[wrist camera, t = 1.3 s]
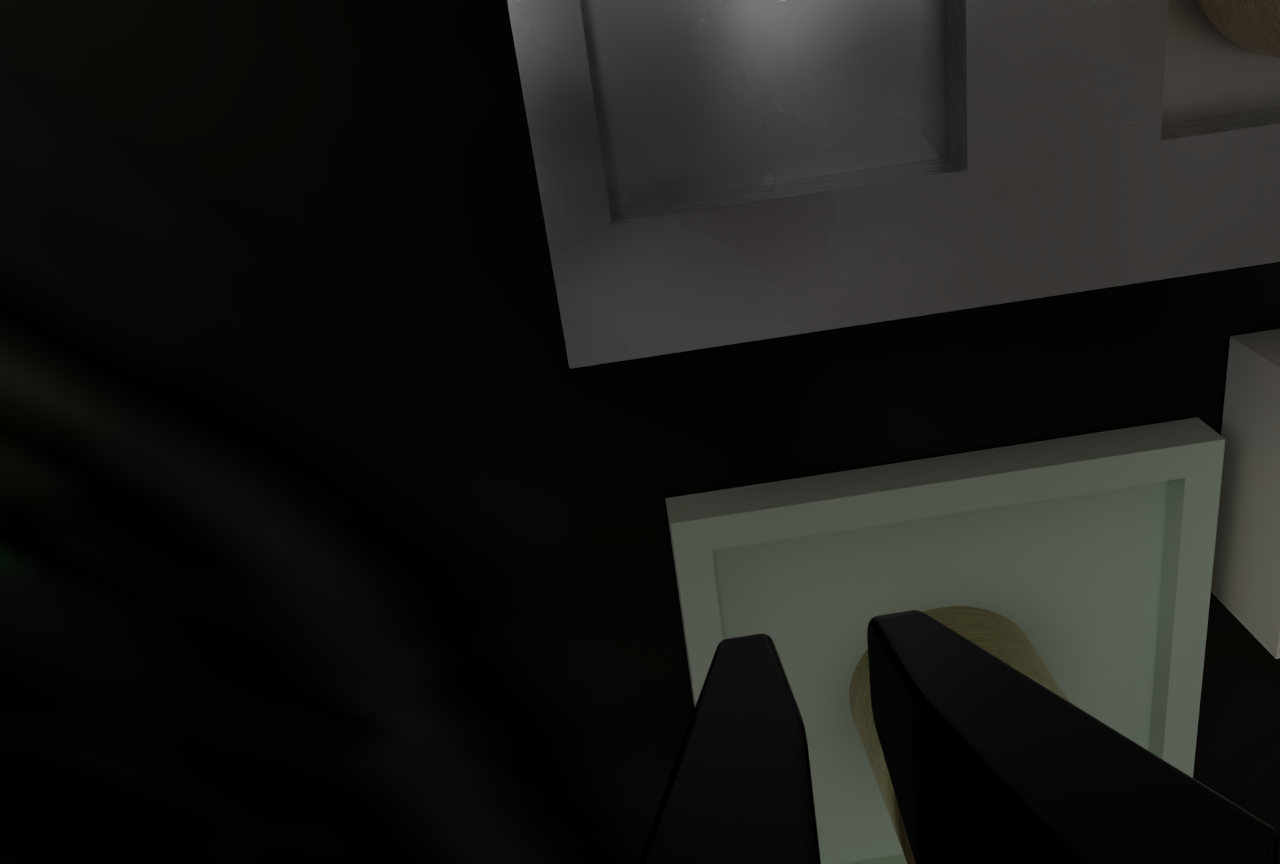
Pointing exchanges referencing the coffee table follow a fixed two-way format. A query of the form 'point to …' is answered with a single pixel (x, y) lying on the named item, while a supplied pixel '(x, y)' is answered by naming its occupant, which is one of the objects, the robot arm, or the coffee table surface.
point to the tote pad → (968, 585)
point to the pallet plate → (882, 159)
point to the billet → (982, 631)
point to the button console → (1251, 488)
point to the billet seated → (1247, 23)
